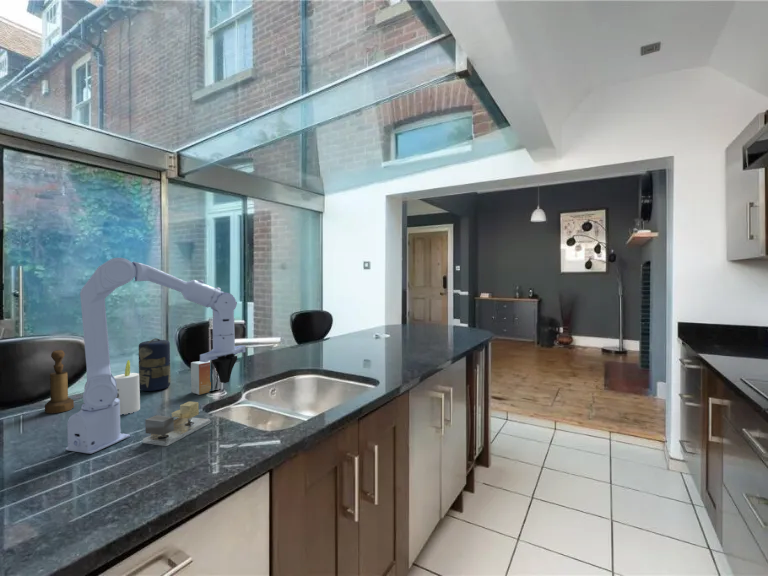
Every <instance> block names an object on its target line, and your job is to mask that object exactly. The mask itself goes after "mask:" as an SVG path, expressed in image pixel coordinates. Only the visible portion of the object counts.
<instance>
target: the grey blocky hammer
mask: <svg viewBox="0 0 768 576" xmlns="http://www.w3.org/2000/svg"><path fill="white" fill-rule="evenodd" d="M174 418H175V417H172V416H167V415H159V414H158V415H157V414H156V415H154V416H151V417H149V418H146V419H145V420H144V421H145V422H144V423H145V425H144V426H145V434H150V435H152V436H157V435H162V437H166V434H167V433H169V432H171V431H173V430H174V427H176V426H178V425H180V424H182V423H184V422H186V421H188V418H180V417H176V418H175V419H174Z"/></svg>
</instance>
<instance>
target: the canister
mask: <svg viewBox="0 0 768 576" xmlns="http://www.w3.org/2000/svg"><path fill="white" fill-rule="evenodd" d="M138 373H139V388H140V390H141V391H143V392H152V391H153V392H154V391H160V390H161V391H162V390H164V389H166V388H169V386H171V382H172V381H171V343H170V341H169V340H167V339H160V338H155V337H154V338H152V339H151V340H146V341H142V342H140V343H139V344H138Z"/></svg>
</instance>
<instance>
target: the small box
mask: <svg viewBox="0 0 768 576" xmlns="http://www.w3.org/2000/svg"><path fill="white" fill-rule="evenodd" d="M190 383H191V384H190V385H191V386H190V387H191V390H190V391H191V393H192V394H196V395H198V396H199V395H203V394H207V393H210V392H209V391H210V389H211V382H210V361H208V362H200V360H199V361H192V362H190Z"/></svg>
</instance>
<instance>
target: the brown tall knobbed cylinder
mask: <svg viewBox="0 0 768 576" xmlns="http://www.w3.org/2000/svg"><path fill="white" fill-rule="evenodd" d="M65 354H66V353H65V351H64V350H62V349H55V350H54V351H52V352H51V354H50V357H51V358H52V360H53V361H54V365H53V370H54V372H51V373H50V374H49V383H50V384H49V386H50V400H49V401H47V403H45V404H44V413H45V414H58V413H64V412H65V413H66V412H68V411H71V410H73V409H74V408H75V403H74V402H75V401H74V399H72V398H71V397H69V389H68V387H69V385H68V382H69V381H68V377H69V376H68V371H63V369H64V364H63V363H62V361H63V359H64V357H65ZM72 408H73V409H72Z"/></svg>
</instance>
